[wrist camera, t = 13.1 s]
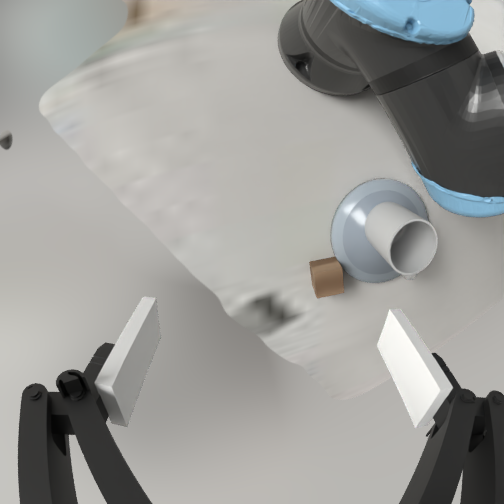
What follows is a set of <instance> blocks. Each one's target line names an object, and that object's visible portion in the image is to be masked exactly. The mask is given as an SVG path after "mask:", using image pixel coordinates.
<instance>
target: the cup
mask: <svg viewBox="0 0 504 504" xmlns="http://www.w3.org/2000/svg"><path fill="white" fill-rule="evenodd" d="M365 235H366V237H367V240H368V241H369V242H370V244H371V245H372V246H373V247H374V248H375V249H376V250H377V251H378V253H379V254H380V255H381V256H382V257H383V258H384V259H385V260H386V261H387V262H388V263H389V264H390V266H391V267H392V268H393V269H394V270H395V271H397V272H398V273H400V274H401V275H402V276H403V277H404V278H405V279H407V280H413V279H414V278H415V277H416V276H417V274H418V273H419V272H420V271H422V270H424V269H425V268H426V267H427V266H428V265H429V264H430V262H431V261H432V259H433V258H434V255H435V253H436V250H437V245H438V237H437V233H436V230H435V229H434V227H433V225H431V224H430V223H429V222H428V221H426V220H425V219H423V218H421V217H420V216H418V215H417V214H415V213H413V212H411V211H410V210H408V209H406V208H405V207H403V206H401V205H399V204H397V203H394V202H383V203H380V204H378V205H377V206H375V207H374V208H373V209H372V210H371V211H370V213H369V214H368V216H367V219H366V221H365Z"/></svg>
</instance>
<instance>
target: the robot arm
mask: <svg viewBox="0 0 504 504" xmlns="http://www.w3.org/2000/svg"><path fill="white" fill-rule="evenodd" d="M471 2H472V0H301V1H299V2H298V3H296V4H295V5H293V6H292V7H291V8H290V9H289V10H288V12H287V13H286V14H285V16H284V18H283V20H282V22H281V25H280V29H279V33H278V46H279V51H280V54H281V57H282V59H283V61H284V63H285V65H286V66H287V68H288V69H289V70H290V71H291V73H292V74H293V75H294V76H295V77H296V78H297V79H299V80H300V81H301V82H302V83H304V84H305V85H307V86H309V87H310V88H312V89H314V90H317V91H319V92H322V93H326V94H330V95H338V96H345V95H352V94H356V93H359V92H362V91H365V90H367V89H369V88H372V90H373V91H374V93H375V95H376V97H377V98H378V100H379V102H380V103H381V105H382V107H383V108H384V110H385V112H386V113H387V115H388V117H389V118H390V120H391V122H392V124H393V126H394V127H395V129H396V131H397V133H398V135H399V137H400V138H401V140H402V142H403V144H404V146H405V148H406V150H407V152H408V154H409V156H410V158H411V160H412V166H413V168H414V170H415V171H416V173H417V174H418V175H419V176H420V177H421V179H422V181H423V183H424V185H425V187H426V189H427V191H428V193H429V195H430V196H431V197H432V199H433V200H434V201H435V202H437V203H438V204H439V205H440V206H441V207H443V208H444V209H446V210H448V211H450V212H452V213H455V214H458V215H462V216H467V217H491V216H496V215H500V214H503V213H504V53H503V52H502V51H500V50H497V51H493V52H490V53H487V54H481V53H480V51H479V50H478V48H477V46H476V44H475V42H474V41H473V39H472V37H471V35H470V34H469V31H470V29H471V27H472V25H473V22H474V9H473V8H472V7H471V6H470V3H471ZM160 339H161V335H160V327H159V320H158V310H157V301H156V298H151V297H143V298H142V299H141V301H140V303H139V305H138V306H137V308H136V309H135V311H134V313H133V314H132V316H131V318H130V320H129V321H128V323H127V325H126V326H125V328H124V330H123V332H122V334H121V335H120V337H119V339H118V340H117V342H116V344H110V343H104V344H103V345H102V346H100V347H99V348H98V349H97V351H96V353H95V354H94V357H92V359H91V361H90V363H89V364H88V366H87V367H86V369H85V371H84V373H82V372H80V371H78V370H67V371H65V372H62V373H61V374H60V375H59V376H58V378H57V380H56V386H57V388H58V390H59V392H48V391H47V389H46V388H45V386H43V385H41V384H37V383H35V384H31V385H29V386H28V387H26V388H25V389H24V391H23V393H22V400H21V409H20V421H19V437H18V438H19V439H18V440H19V441H18V478H19V479H18V480H19V496H20V504H78V502H77V497H76V491H75V486H74V479H73V473H72V466H71V457H70V448H69V435H76V437H77V440H78V443H79V445H80V448H81V450H82V453H83V454H84V457H85V460H86V462H87V464H88V466H89V469H90V471H91V473H92V475H93V477H94V479H95V481H96V483H97V485H98V487H99V489H100V491H101V493H102V495H103V496H104V499H105V500H106V502H107V504H152V503H151V501H150V500H149V498H148V497H147V495H146V494H145V492H144V491H143V489H142V487H141V486H140V484H139V483H138V481H137V480H136V478H135V476H134V475H133V473H132V471H131V470H130V468H129V466H128V465H127V463H126V461H125V459H124V458H123V456H122V454H121V452H120V450H119V448H118V447H117V445H116V443H115V441H114V439H113V437H112V435H111V433H110V431H109V429H108V427H107V425H106V421H107V418H108V416H109V418H110V421H111V423H113V424H117V425H121V426H125V427H127V426H128V424H129V420H130V418H131V415H132V412H133V409H134V407H135V404H136V401H137V399H138V396H139V393H140V390H141V388H142V385H143V382H144V380H145V377H146V374H147V372H148V369H149V367H150V364H151V362H152V359H153V356H154V354H155V351H156V349H157V346H158V343H159V341H160ZM377 347H378V349H379V351H380V353H381V355H382V357H383V359H384V361H385V363H386V365H387V368H388V370H389V372H390V374H391V376H392V378H393V380H394V382H395V384H396V386H397V389H398V391H399V393H400V395H401V397H402V399H403V401H404V404H405V406H406V408H407V410H408V413H409V415H410V417H411V420H412V422H413V424H414V426H415V428H417V427H422V426H426V425H428V423H429V422H430V421H431V420H432V418H433V419H434V421H435V424H434V425H433V427H432V428H431V429H430V431H429V432H428V433H427V435H426V436H428V435H429V434H430V435H429V438H428V441H427V443H426V446H425V449H424V451H423V453H422V456H421V458H420V461H419V463H418V465H417V468H416V470H415V472H414V474H413V476H412V479H411V481H410V483H409V485H408V487H407V489H406V491H405V493H404V495H403V497H402V499H401V501H400V503H399V504H451V503H452V500H453V498H454V495H455V492H456V489H457V486H458V483H459V480H460V477H461V473H462V470H463V479H462V492H461V503H460V504H504V395H503V394H502V393H501V392H499V391H491V392H490V393H489V394H488V396H487V397H486V398H481V397H480V398H479V397H476V396H475V394H474V393H473V392H472V391H470V390H468V389H462V388H461V387H460V385H459V384H458V382H457V381H456V379H455V377H454V376H453V374H452V373H451V372H450V370H449V368H448V367H447V366H446V364H445V362H444V361H443V359H442V358H441V357H440V356H438V355H437V354H436V353H431V352H430V351H429V349H428V348H427V346H426V345H425V343H424V342H423V340H422V339H421V337H420V336H419V334H418V333H417V331H416V330H415V329H414V327H413V326H412V324H411V323H410V321H409V320H408V319H407V317H406V316H405V314H404V313H403V312H402V310H401V309H390V310H389V313H388V316H387V319H386V322H385V325H384V328H383V331H382V333H381V336H380V339H379V342H378V344H377Z"/></svg>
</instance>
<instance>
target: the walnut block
mask: <svg viewBox="0 0 504 504" xmlns="http://www.w3.org/2000/svg"><path fill="white" fill-rule="evenodd" d="M309 263H310V271H311V279H312V286H313V288H314V291H315V294H316V297H317V298H321V297H326V296H331V295H336V294H340V293H344V285H343V271H342V267H341V265H340V263H339V262H338V260H337V259H336V257H331V258H326V259H321V260H316V261H311V262H309Z"/></svg>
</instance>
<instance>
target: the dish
mask: <svg viewBox="0 0 504 504" xmlns="http://www.w3.org/2000/svg"><path fill="white" fill-rule="evenodd" d="M383 202H394V203H397V204H399V205H401V206H403V207H405V208H406V209H408V210H410V211H411V212H413V213H415V214H417V215H418V216H420V217H421V218H423V219H425V220H426V221H428V217H427V212H426V209H425V206H424V204H423V202H422V200H421V198H420V197H419V196H418V194H417V193H416V192H415V191H414V190H413V189H412V188H410V187H409V186H407V185H406V184H403V183H401V182H399V181H396V180H392V179H385V178H381V179H373V180H369V181H367V182H364V183H362V184H360V185H358V186H357V187H355V188H354V189H353V190H352V191H350V192H349V193H348V194H347V195H346V196H345V198H344V199H343V200H342V201H341V203H340V205H339V206H338V208H337V210H336V212H335V215H334V218H333V221H332V225H331V244H332V249H333V252H334V255H335V257H336V259H337V260H338V262H339V263H340V265H341V267H342V268H343V269H344V270H345V271H346V272H347V273H348V274H349V275H351V276H352V277H354V278H356V279H358V280H360V281H364V282H369V283H380V282H385V281H389V280H391V279H394V278H396V277H398V276H400V275H401V274H400V273H398V272H397V271H395V270H394V269H393V268H392V267H391V266H390V264H389V263H388V262H387V261H386V260H385V259H384V258H383V257H382V256H381V255H380V254H379V253H378V251H377V250H376V249H375V248H374V247H373V246H372V245H371V244H370V242H369V241H368V240H367V237H366V235H365V221H366V219H367V216H368V214H369V213H370V211H371V210H372V209H373V208H374V207H375V206H377V205H378V204H380V203H383Z"/></svg>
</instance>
